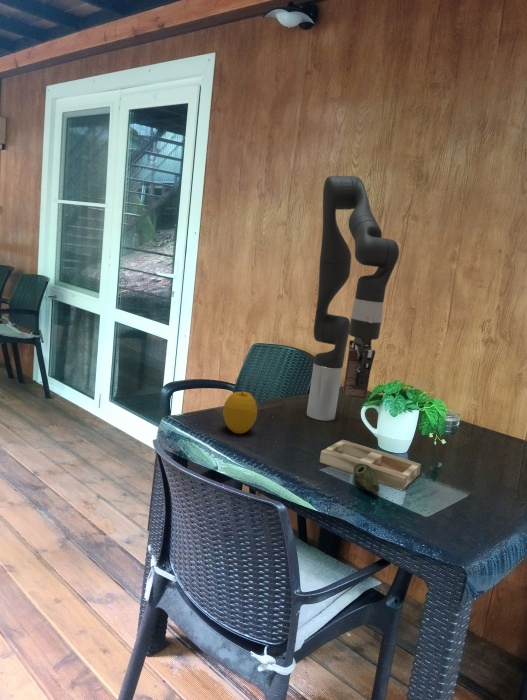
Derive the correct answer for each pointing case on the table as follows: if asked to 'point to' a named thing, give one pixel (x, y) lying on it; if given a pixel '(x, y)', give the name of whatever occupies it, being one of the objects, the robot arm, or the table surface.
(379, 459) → the socket board
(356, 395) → the box
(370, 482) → the decorative stone
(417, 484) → the table surface
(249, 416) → the apple
